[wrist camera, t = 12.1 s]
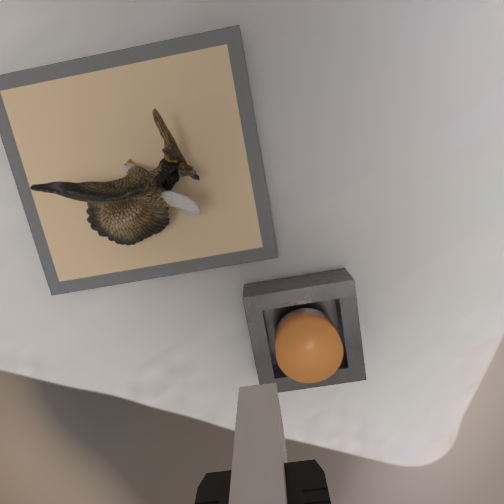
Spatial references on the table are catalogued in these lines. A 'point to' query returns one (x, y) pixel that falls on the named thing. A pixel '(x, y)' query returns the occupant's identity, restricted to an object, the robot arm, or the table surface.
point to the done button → (307, 346)
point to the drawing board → (140, 156)
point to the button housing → (304, 296)
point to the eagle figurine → (134, 195)
